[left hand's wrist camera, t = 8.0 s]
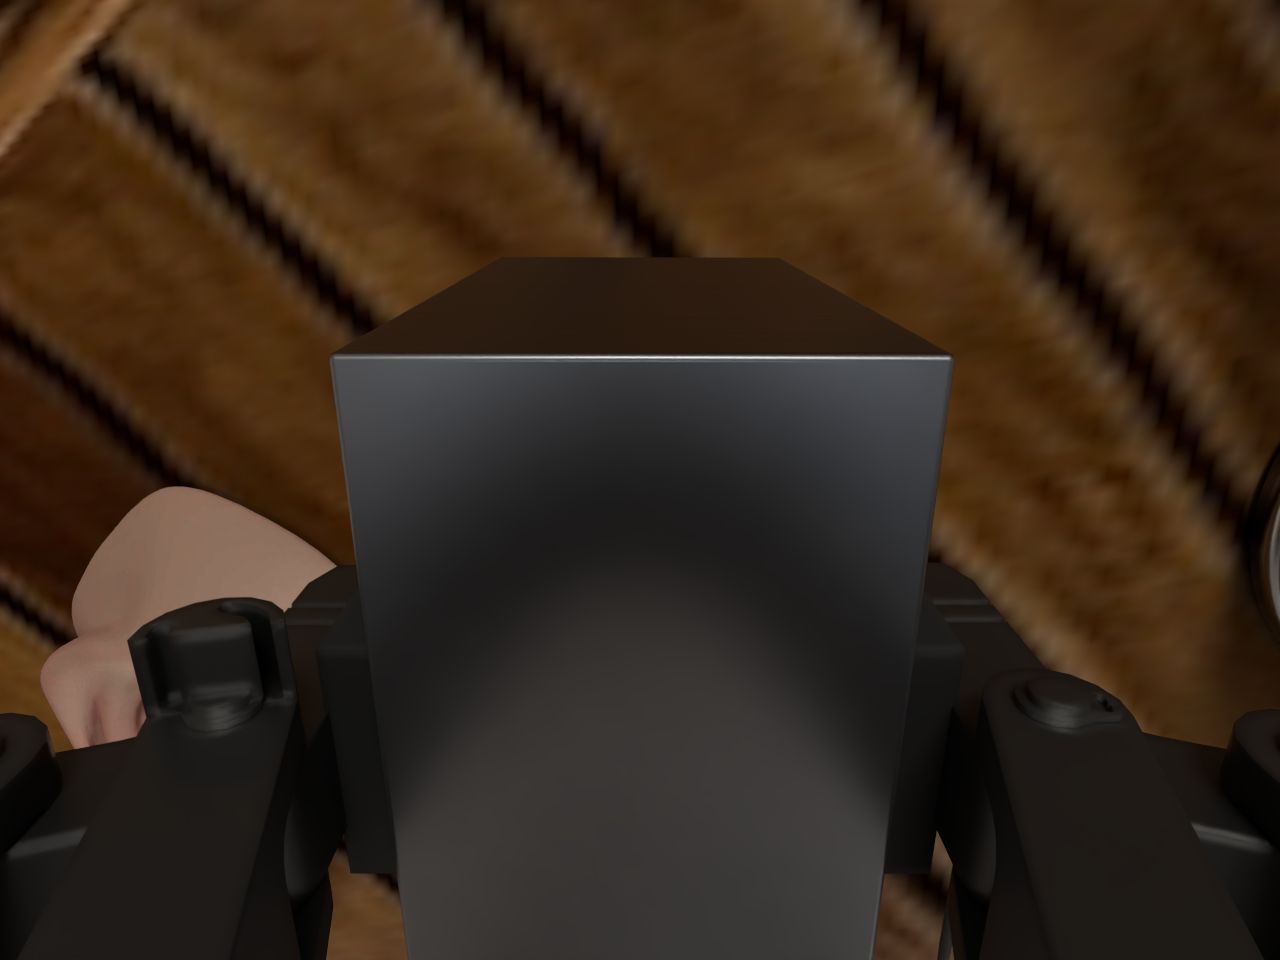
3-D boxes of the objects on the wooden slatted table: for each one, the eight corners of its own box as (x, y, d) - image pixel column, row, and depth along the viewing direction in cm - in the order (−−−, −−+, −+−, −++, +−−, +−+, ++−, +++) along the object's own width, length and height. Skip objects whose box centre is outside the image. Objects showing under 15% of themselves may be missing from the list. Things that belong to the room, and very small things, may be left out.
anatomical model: (1, 500, 23) (398, 610, 24) (89, 455, 27) (430, 553, 28) (-19, 848, 28) (319, 926, 29) (60, 768, 31) (356, 840, 32)
